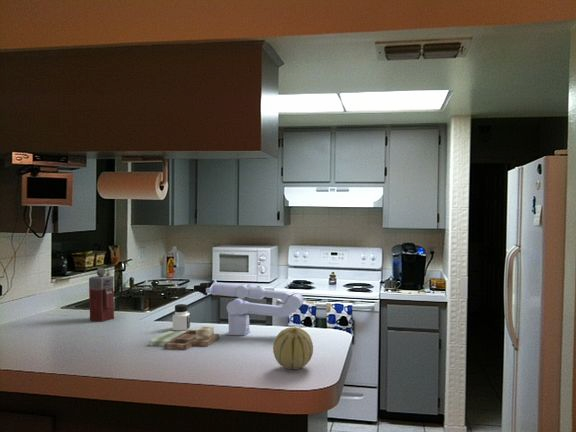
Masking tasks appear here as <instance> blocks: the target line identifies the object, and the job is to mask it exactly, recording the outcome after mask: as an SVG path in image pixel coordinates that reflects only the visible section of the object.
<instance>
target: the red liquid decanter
mask: <svg viewBox="0 0 576 432" xmlns="http://www.w3.org/2000/svg"><path fill="white" fill-rule="evenodd" d="M105 274H106V269H105V268H104V267H99V268H97V269H96V276H92V277H89V278H88V291H89V295H88V296H89V298H88V300H89V321H90V322H99V323H100V322H101V323H102V322H106V321H111V320H113V319H114V320H115V303H114V302H115V300H114V299H115V298H114V297H115V296H114V295H115V294H114V277H113V276H112V275H105Z"/></svg>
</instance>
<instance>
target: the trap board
mask: <svg viewBox="0 0 576 432" xmlns="http://www.w3.org/2000/svg"><path fill="white" fill-rule="evenodd" d="M219 339H220V333H214V336H213V337H212V338H210V339H196V329H188V330H185V331H173V330H172V331H169V330H167V331H165V332H163V333H161V334H160V335H158V336H155V337H154V338H152V339H150V340H148V346H151V347H164V349H165V350H188V349H190V348H192V347H209V346H211V345H212V344H213V343H215V342H217V341H218V340H219Z"/></svg>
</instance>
